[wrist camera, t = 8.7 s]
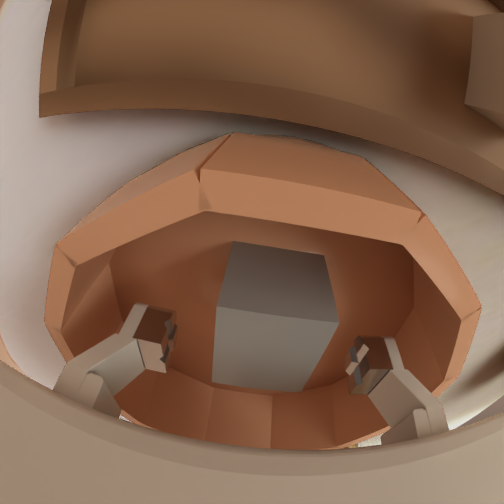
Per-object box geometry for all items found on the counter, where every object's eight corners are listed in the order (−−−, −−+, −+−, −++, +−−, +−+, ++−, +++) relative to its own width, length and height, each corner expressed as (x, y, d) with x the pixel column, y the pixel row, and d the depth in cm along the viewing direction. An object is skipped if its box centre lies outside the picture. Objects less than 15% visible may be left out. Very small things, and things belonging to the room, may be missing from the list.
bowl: (93, 122, 9) (-6, 163, 5) (468, 189, 9) (544, 256, 5) (134, 363, 18) (111, 424, 14) (349, 392, 18) (357, 455, 14)
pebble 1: (233, 240, 11) (216, 306, 8) (324, 255, 11) (339, 322, 8) (224, 318, 13) (211, 382, 10) (297, 328, 13) (300, 392, 10)
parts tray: (101, -68, 3) (82, -79, 2) (567, 76, 4) (586, 82, 2) (65, 110, 9) (39, 117, 7) (540, 215, 9) (557, 229, 8)
